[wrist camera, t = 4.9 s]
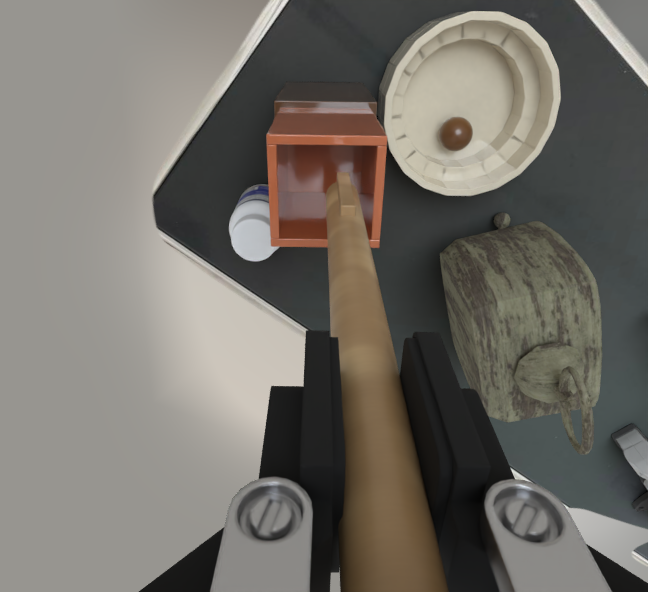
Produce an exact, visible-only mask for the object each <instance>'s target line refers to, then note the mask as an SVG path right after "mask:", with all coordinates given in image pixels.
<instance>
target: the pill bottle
mask: <svg viewBox="0 0 648 592" xmlns="http://www.w3.org/2000/svg"><path fill="white" fill-rule="evenodd" d="M229 233H230V236H231V242H232V246H233V248H234V250H235V251H236V253H237V254H238V255H239V256H241V257H242V258H244V259H246V260H249V261H261V260H264V259H266V258H268V257H269V256H271V255H272V253H273V252H274V251H276V250H277V249H278V248H279V247H272V246H271V237H270V213H269V188H268V185H266V184H259V185H254V186H252V187H250V188H248V189H247V190H246V191H245V192H244V193H243V194H242V195H241V197H240V199H239V201H238V204H237V206H236V208H235V210H234V212H233V214H232V216H231V219H230V222H229Z"/></svg>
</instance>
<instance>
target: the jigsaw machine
mask: <svg viewBox="0 0 648 592" xmlns="http://www.w3.org/2000/svg"><path fill="white" fill-rule="evenodd" d="M612 438H613V440H614V441H615V443H616V444H617V445H618V447H619V448H620V449H621V450H622V452H623V453H624V455H625V458H626V459H627V461H628V462H629V463H630V465H631V466H632V467H633V469H634V470H635V471H636V473H637V474H638V475H639V476H640V480H641V482H642V483H643V485H644V486H645V487H646V489H647V490H648V438H647V437H646V436H644V434H643V433H642V432H641V431H640V430H639V428H638V427H637V426H636V425H634V424H630V425H628V426H626V427H625V428H623V429H621V430H619V431H617V432H615V433H614V434H612ZM632 505H633V507H634V508H635V509H636V510H637V511H644V510H648V491H647V492H646V493H645V494H643V495H642V496H641V497H639V498H638V499H637V500H635V501H634V502H633V504H632Z"/></svg>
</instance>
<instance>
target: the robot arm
mask: <svg viewBox="0 0 648 592" xmlns="http://www.w3.org/2000/svg"><path fill="white" fill-rule="evenodd" d="M400 380H401V384H402V389H403V393H404V397H405V402H406V406H407V411H408V415H409V419H410V424H411V428H412V433H413V437H414V441H415V446H416V450H417V455H418V459H419V463H420V468H421V472H422V477H423V481H424V485H425V490H426V494H427V498H428V503H429V507H430V512H431V516H432V520H433V524H434V528H435V532H436V537H437V541H438V546H439V550H440V554H441V559H442V563H443V568H444V572H445V576H446V581H447V585H448V589H449V592H648V583H647V582H645V581H643V580H642V579H640V578H639V577H637V576H635V575H634V574H632V573H631V572H629V571H628V570H626V569H625V568H623V567H621V566H620V565H618V564H617V563H615V562H614V561H612V560H610V559H609V558H607V557H606V556H604V555H603V554H601V553H599V552H598V551H596V550H595V549H593V548H592V547H590V546H588V545H587V544H586V543H585V541H584V539H583V538H582V536H581V534H580V532H579V530H578V528H577V526H576V525H575V523H574V521H573V519H572V517H571V516H570V514H569V512H568V511H567V509H566V508H565V506H564V505H563V504H562V502H561V501H560V500H559V499H558V498H557V497H555V496H554V495H553V494H552V493H551V492H549V491H548V490H546V489H544V488H543V487H541V486H539V485H537V484H534V483H531V482H528V481H525V480H516V479H515V478H514V476H513V473H512V471H511V469H510V466H509V464H508V462H507V459H506V457H505V455H504V452H503V450H502V448H501V445H500V443H499V441H498V438H497V436H496V434H495V431H494V429H493V427H492V424H491V422H490V420H489V417H488V415H487V413H486V410H485V408H484V406H483V403H482V401H481V399H480V396H479V394H478V393H477V391H476V390H475V389H461V388H460V386H459V383H458V380H457V378H456V375H455V373H454V370H453V367H452V365H451V362H450V360H449V357H448V354H447V352H446V349H445V347H444V344H443V341H442V339H441V336H440V334H439V333H438V332H415V333H414V334H413V338H406V339H405V341H404V347H403V356H402V364H401V372H400ZM344 488H345V441H344V424H343V408H342V391H341V374H340V358H339V341H338V337H329V331H306V343H305V366H304V387H299V386H296V387H295V386H272V387H271V391H270V399H269V406H268V414H267V420H266V429H265V435H264V443H263V450H262V458H261V466H260V473H259V479H258V480H255V481H253V482H250V483H249V484H247V485H246V486H244V487H243V488H241V489H240V490H239V492H238V493H237V494H236V495H235V496H234V497H233V499H232V502H231V504H230V506H229V510H228V513H227V518H226V522H225V527H224V528H222V529H221V530H220V531H219V532H217V533H216V534H215V535H213V536H212V537H211V538H209V539H208V540H207V541H205V542H204V543H203V544H201V545H200V546H199V547H197V548H196V549H195V550H194V551H192V552H191V553H189V554H188V555H187V556H185V557H184V558H183V559H182V560H180V561H179V562H177V563H176V564H175V565H173V566H172V567H171V568H170V569H168V570H167V571H166V572H164V573H163V574H162V575H160V576H159V577H158V578H156V579H155V580H154V581H152V582H151V583H150V584H148V585H147V586H146V587H144V588H143V589H142V590H140V591H139V592H330V575H331V572H339V567H340V561H339V534H338V526H339V522H340V520H341V518H342V516H343V504H344Z"/></svg>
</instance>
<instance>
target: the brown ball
mask: <svg viewBox="0 0 648 592" xmlns="http://www.w3.org/2000/svg"><path fill="white" fill-rule="evenodd" d="M472 136H473V129H472V126H471V124H470V122H469V121H468V120H467V119H465V118H463V117H458V116H457V117H451V118H449V119H447V120H446V121H445V122H444V123H443V124H442V126H441V128H440V130H439V140H440V142H441V144H442V146H443V147H444V148H446V149H448V150H450V151H459V150H462V149H464V148H465V147H466V146H467V145H468V144H469V143H470V141H471V139H472Z"/></svg>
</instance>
